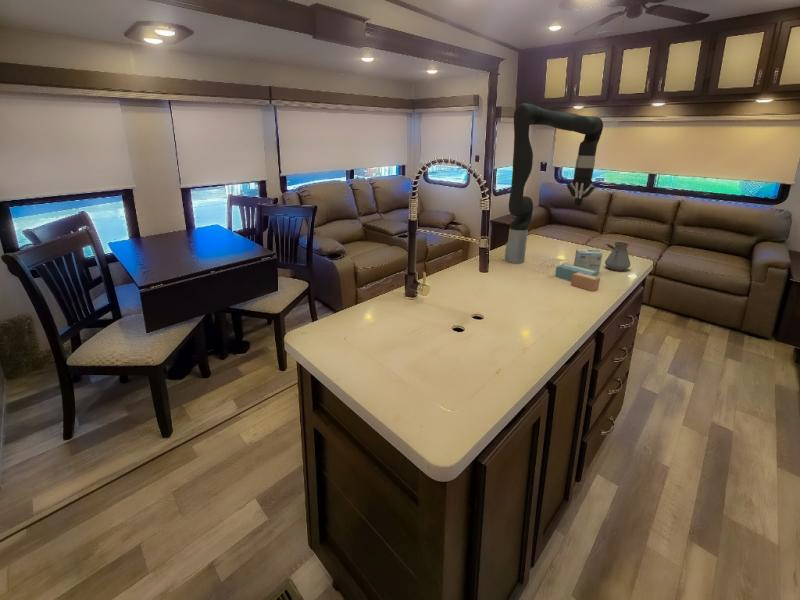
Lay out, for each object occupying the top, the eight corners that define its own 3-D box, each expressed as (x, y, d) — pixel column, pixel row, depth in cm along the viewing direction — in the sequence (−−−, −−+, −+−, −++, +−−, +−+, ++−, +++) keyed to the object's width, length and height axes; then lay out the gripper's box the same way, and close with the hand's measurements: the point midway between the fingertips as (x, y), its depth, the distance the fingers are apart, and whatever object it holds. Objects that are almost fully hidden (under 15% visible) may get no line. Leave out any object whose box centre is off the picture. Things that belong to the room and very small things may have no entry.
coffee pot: (610, 263, 214) (616, 235, 208) (633, 269, 205) (640, 240, 200) (588, 271, 202) (594, 241, 196) (612, 277, 193) (618, 246, 188)
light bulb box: (594, 270, 203) (598, 249, 199) (599, 274, 197) (603, 253, 193) (572, 269, 204) (575, 248, 200) (576, 274, 198) (580, 252, 194)
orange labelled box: (570, 284, 183) (572, 274, 181) (576, 282, 186) (578, 271, 184) (592, 291, 176) (595, 279, 174) (598, 288, 179) (600, 277, 177)
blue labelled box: (554, 276, 194) (556, 266, 192) (563, 273, 199) (565, 263, 197) (587, 285, 183) (589, 274, 181) (596, 281, 188) (598, 271, 186)
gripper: (566, 165, 182) (560, 205, 189) (595, 167, 173) (588, 209, 180) (574, 165, 187) (568, 203, 194) (603, 167, 178) (596, 207, 184)
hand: (577, 206), depth 187 cm, fingers closed
